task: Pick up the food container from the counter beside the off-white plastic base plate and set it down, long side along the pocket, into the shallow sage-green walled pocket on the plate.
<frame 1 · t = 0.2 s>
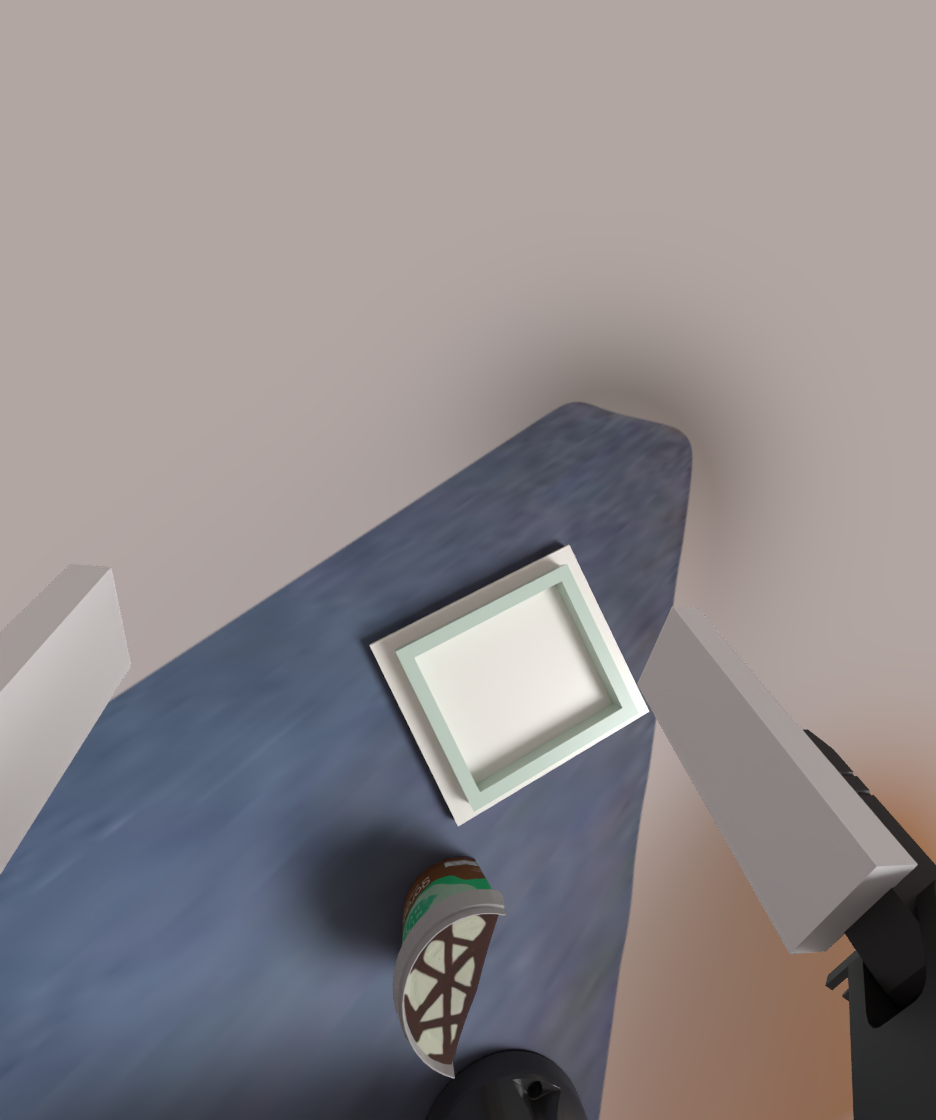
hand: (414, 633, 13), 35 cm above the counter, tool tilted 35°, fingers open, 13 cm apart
food container: (425, 901, 46), on the counter
pocket plate: (512, 678, 49), on the counter
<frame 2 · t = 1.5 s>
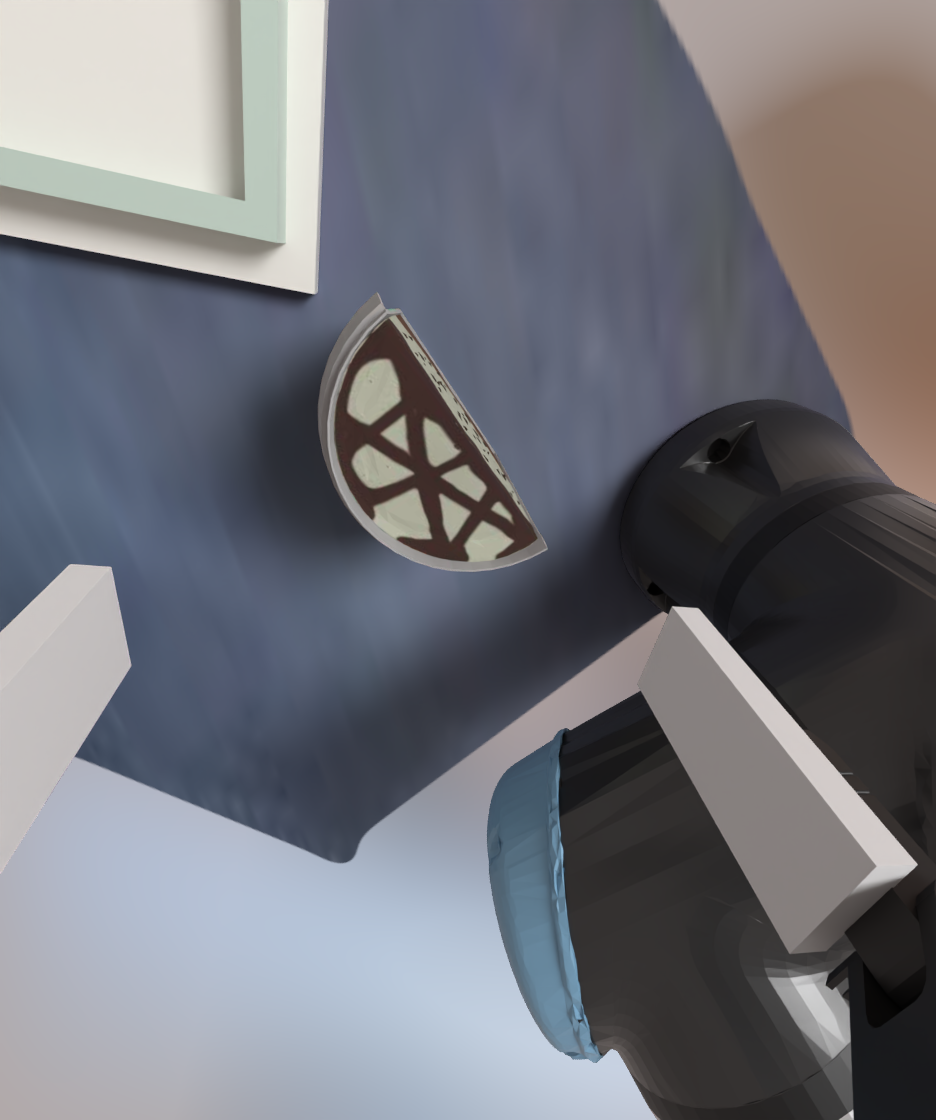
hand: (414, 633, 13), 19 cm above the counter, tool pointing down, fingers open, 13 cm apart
food container: (406, 418, 29), on the counter
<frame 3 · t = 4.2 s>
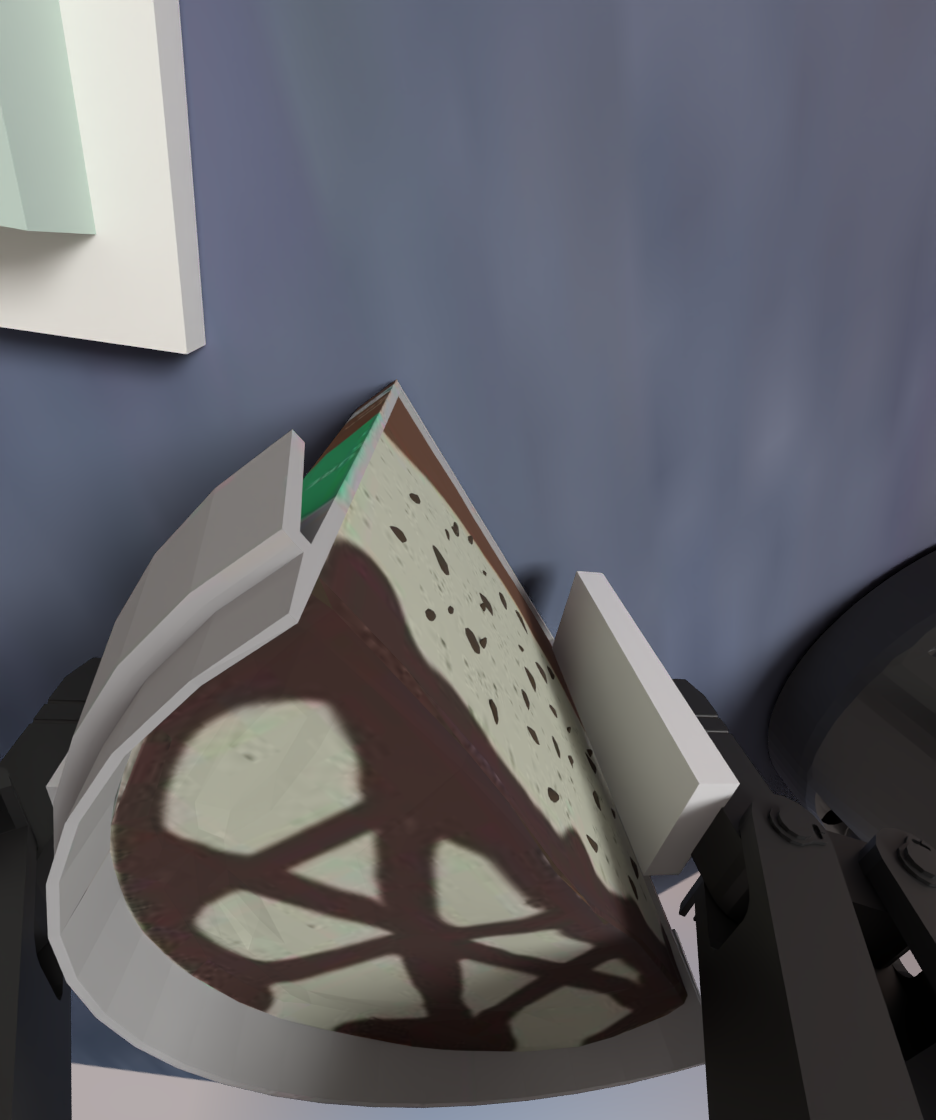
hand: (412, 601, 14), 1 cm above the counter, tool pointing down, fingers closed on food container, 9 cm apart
food container: (394, 575, 15), on the counter, touching gripper
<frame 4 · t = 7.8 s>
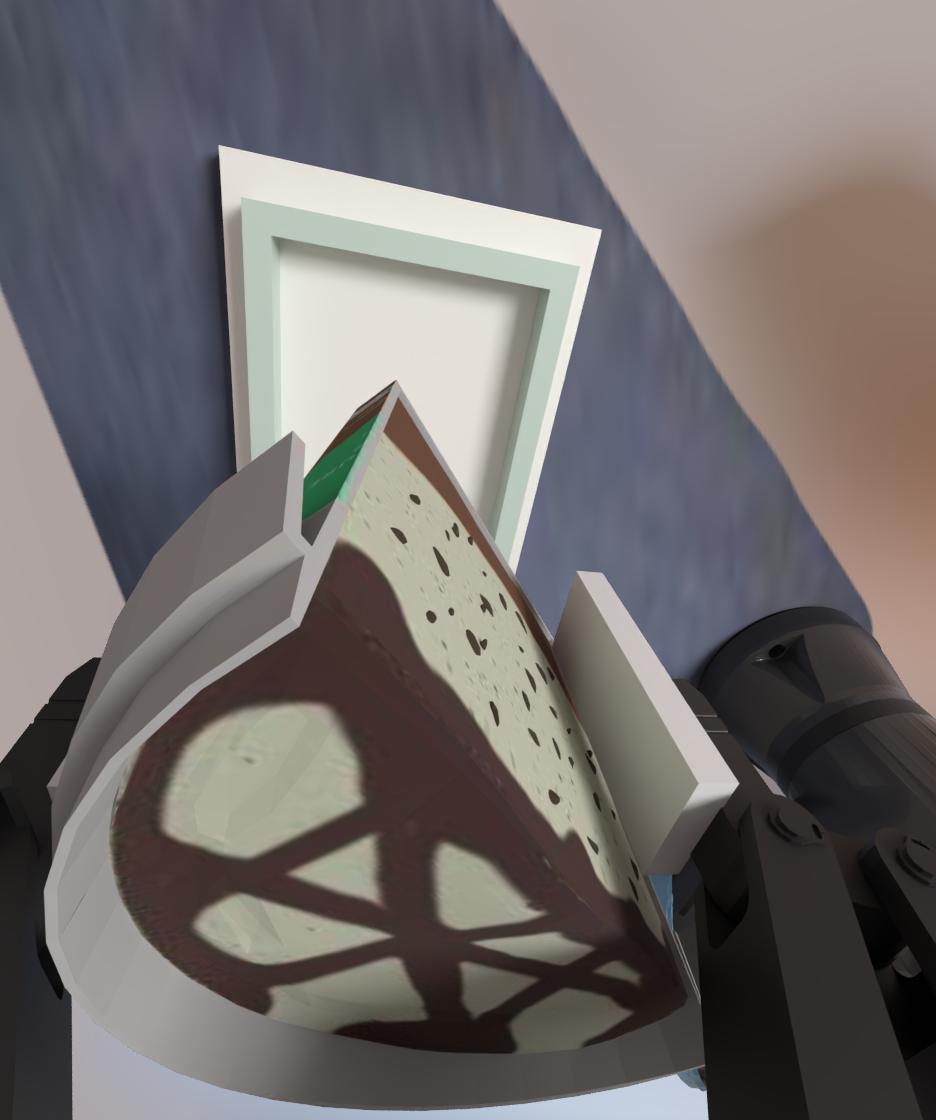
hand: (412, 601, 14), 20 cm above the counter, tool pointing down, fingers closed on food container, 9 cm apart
food container: (393, 576, 15), point 18 cm above the counter, touching gripper
pocket plate: (400, 407, 30), on the counter
when the fingers open (5 cm above the counter, at t = 11.5 s): food container drops 2 cm, resting on pocket plate.
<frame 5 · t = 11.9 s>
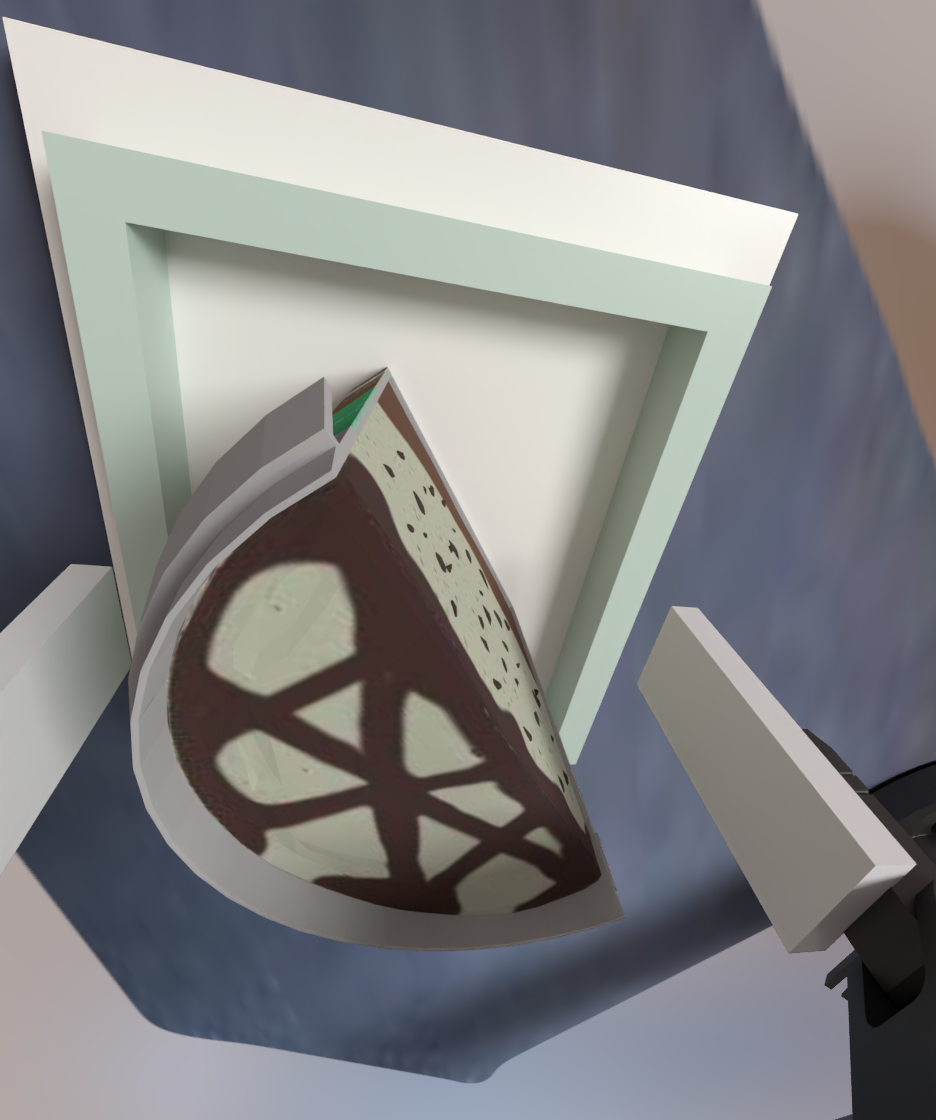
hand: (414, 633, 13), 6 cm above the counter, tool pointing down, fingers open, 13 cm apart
food container: (375, 541, 17), point 1 cm above the counter, touching pocket plate
pocket plate: (407, 519, 18), on the counter
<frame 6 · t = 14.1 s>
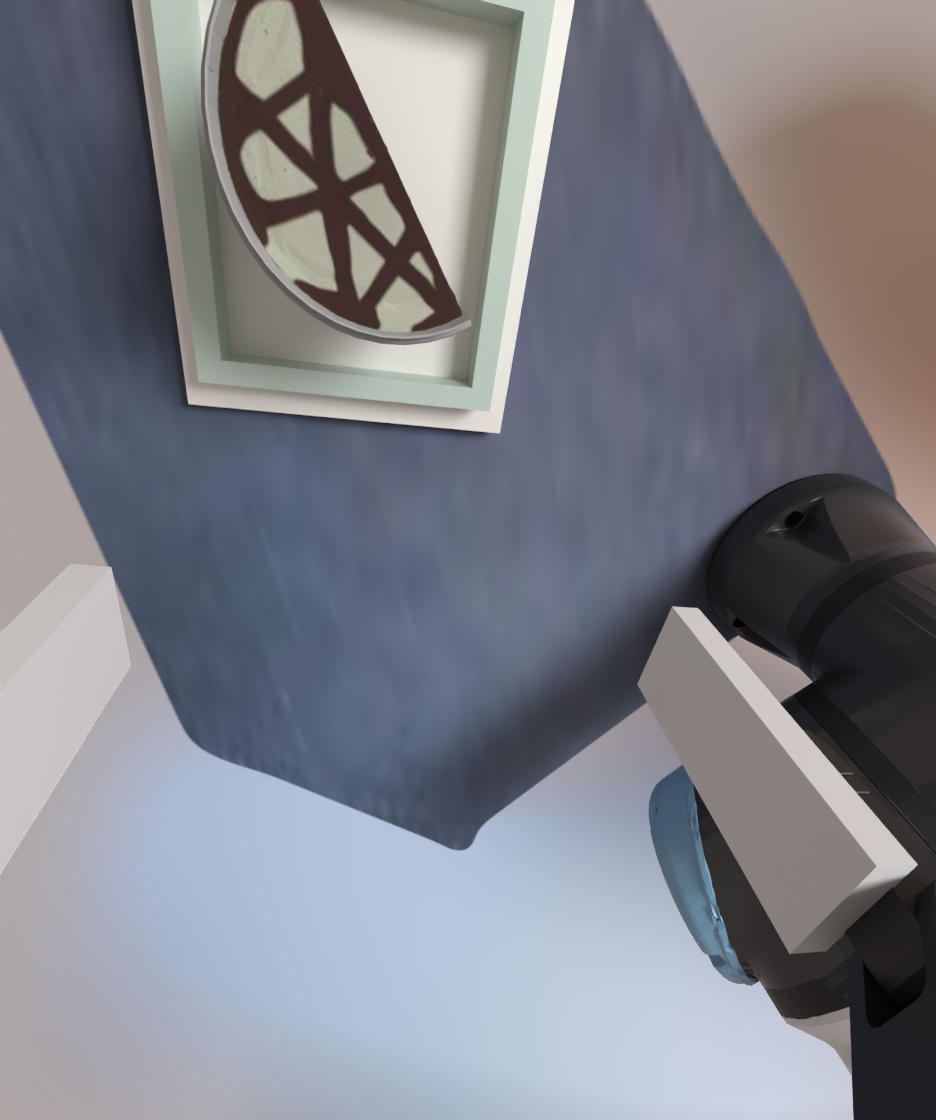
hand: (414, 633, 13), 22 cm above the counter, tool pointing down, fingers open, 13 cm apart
food container: (336, 214, 25), point 1 cm above the counter, touching pocket plate
pocket plate: (358, 208, 26), on the counter
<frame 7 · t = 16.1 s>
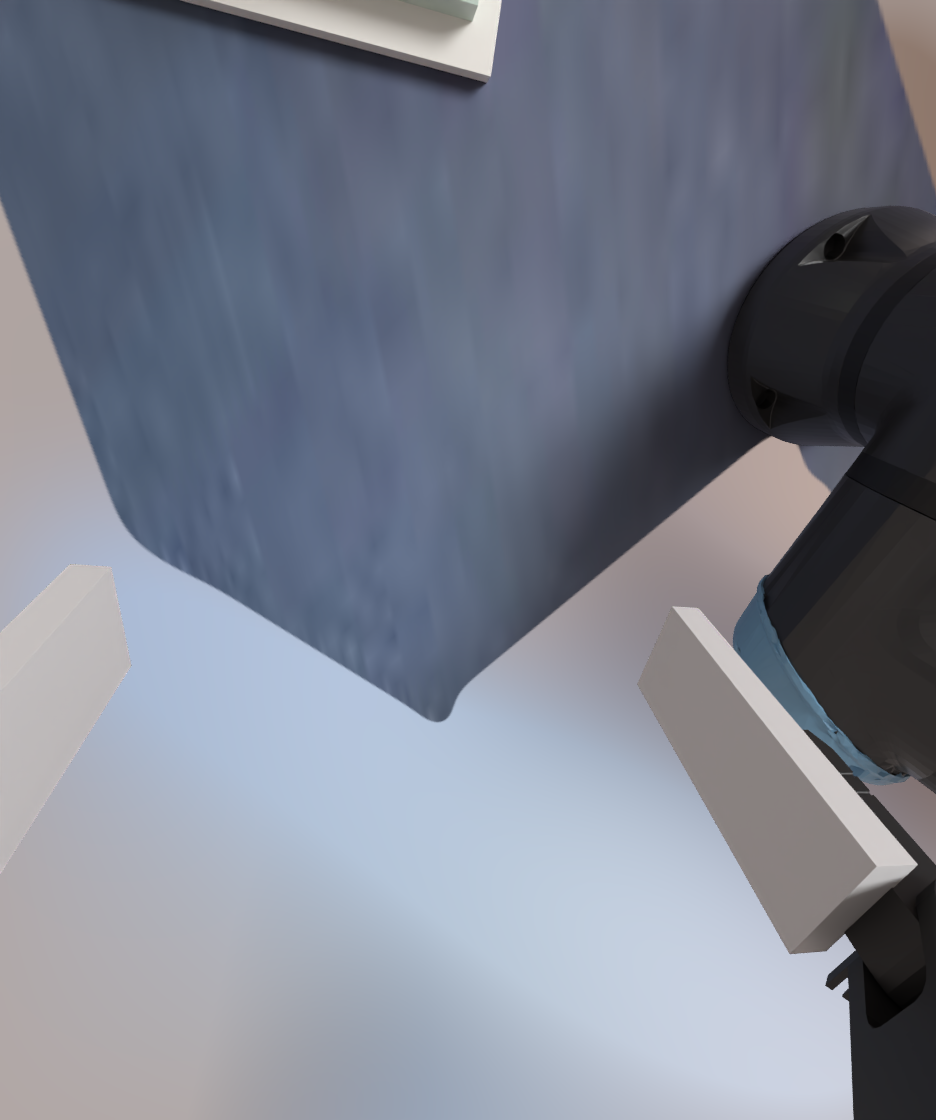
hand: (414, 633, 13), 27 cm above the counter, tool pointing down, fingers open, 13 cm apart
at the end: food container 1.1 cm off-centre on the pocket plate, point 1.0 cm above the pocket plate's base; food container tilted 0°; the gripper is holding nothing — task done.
